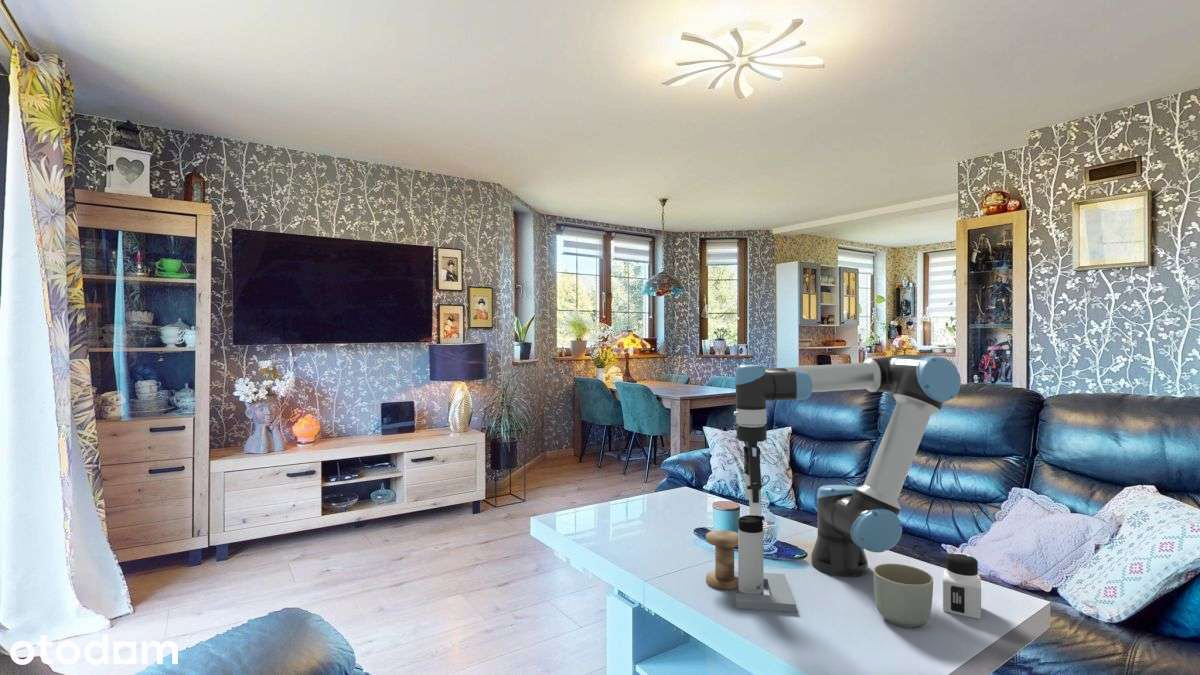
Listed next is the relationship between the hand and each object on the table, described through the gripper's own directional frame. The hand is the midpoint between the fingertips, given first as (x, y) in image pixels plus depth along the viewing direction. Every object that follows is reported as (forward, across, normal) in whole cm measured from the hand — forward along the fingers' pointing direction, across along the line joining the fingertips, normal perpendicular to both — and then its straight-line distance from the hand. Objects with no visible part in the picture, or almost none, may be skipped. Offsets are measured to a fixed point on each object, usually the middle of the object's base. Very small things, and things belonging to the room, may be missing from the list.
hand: (752, 507), depth 151 cm
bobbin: (+22, -6, -7) cm, 24 cm away
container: (+23, +1, +49) cm, 54 cm away
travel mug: (+23, 0, -1) cm, 23 cm away
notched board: (+22, 0, +2) cm, 22 cm away
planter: (+23, +9, +33) cm, 41 cm away
